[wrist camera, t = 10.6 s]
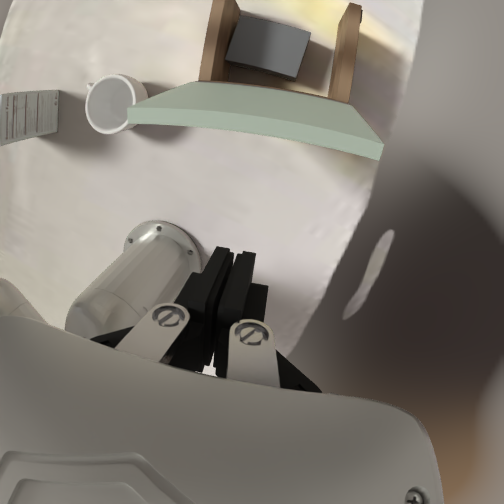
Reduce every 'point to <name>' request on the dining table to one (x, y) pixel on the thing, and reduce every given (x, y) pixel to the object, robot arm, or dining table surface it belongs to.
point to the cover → (261, 115)
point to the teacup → (112, 102)
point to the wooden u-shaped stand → (218, 71)
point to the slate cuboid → (268, 47)
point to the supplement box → (28, 115)
